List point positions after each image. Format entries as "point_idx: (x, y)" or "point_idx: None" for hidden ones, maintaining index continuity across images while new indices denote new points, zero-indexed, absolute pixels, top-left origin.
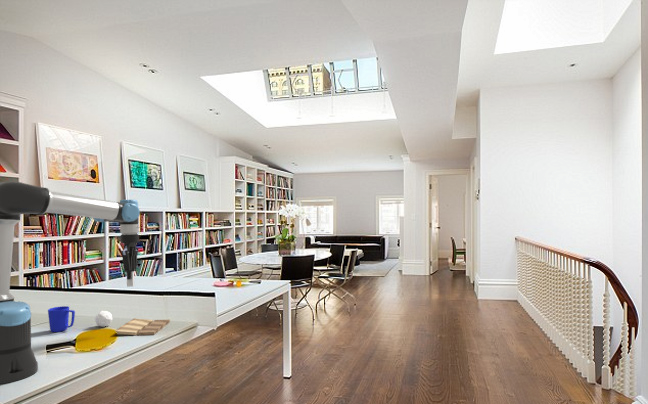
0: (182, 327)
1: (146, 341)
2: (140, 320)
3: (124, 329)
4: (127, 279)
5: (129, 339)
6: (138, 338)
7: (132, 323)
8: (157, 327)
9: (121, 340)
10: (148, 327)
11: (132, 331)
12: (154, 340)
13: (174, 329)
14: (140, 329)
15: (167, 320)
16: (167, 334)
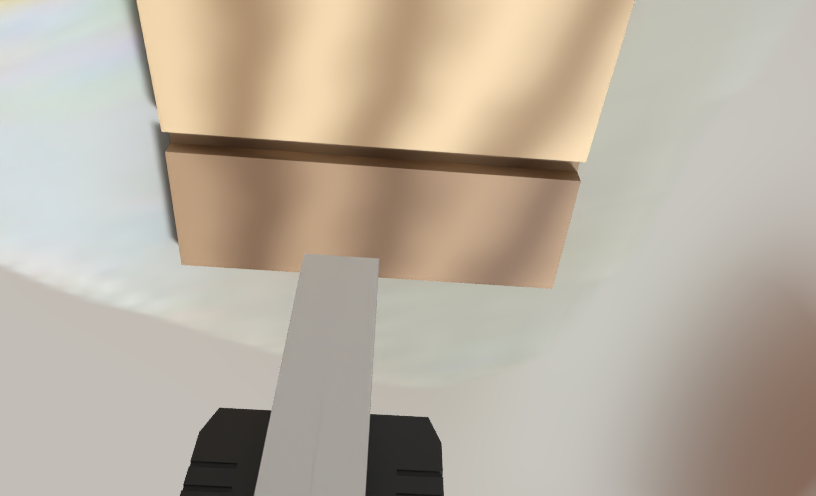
0: None
1: (21, 242)
2: (560, 60)
3: (208, 11)
4: (282, 386)
5: (51, 105)
6: (86, 167)
7: (439, 17)
8: None
9: (14, 45)
10: (318, 190)
11: (177, 99)
12: (51, 284)
13: None
14: (273, 136)
15: (522, 278)
16: (196, 326)
